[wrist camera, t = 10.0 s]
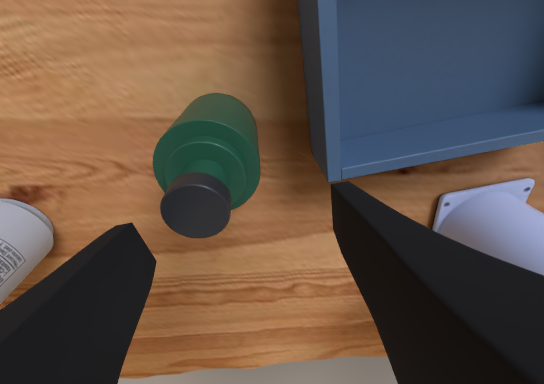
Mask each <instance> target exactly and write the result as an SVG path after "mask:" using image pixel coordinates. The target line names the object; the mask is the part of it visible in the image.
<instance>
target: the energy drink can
mask: <svg viewBox="0 0 544 384" xmlns="http://www.w3.org/2000/svg"><path fill="white" fill-rule="evenodd" d="M53 234H54V230H53V226H52V224H51V222H50V221H49V219H48V218H47V217H46V216H45V215H44V214H43V213H41V212H40V211H39V210H37V209H36V208H34V207H32V206H30V205H28V204H26V203H23V202H20V201H16V200H12V199H0V304H1V303H2V302H3V301H4V300H5V299H6V298H7V297H8V296H9V295H10V294H11V293H12V291H13V290H14V289H15V288H16V287H17V286H18V285H19V284H20V283H21V282H22V281H23V280H24V278H25V277H26V276H27V275H28V274H29V273H30V272H31V271H32V270H33V269H34V268H35V267H36V266H37V264H38V263H39V262H40V261H41V260H42V259H43V258H44V257H45V256H46V255H47V254H48V253H49V251H50V250H51V249H52V247H53Z"/></svg>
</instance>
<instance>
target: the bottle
mask: <svg viewBox="0 0 544 384" xmlns="http://www.w3.org/2000/svg"><path fill="white" fill-rule="evenodd" d="M153 168H154V173H155V176H156V179H157V181H158V183H159V185H160V187H161V188H162V189H163V191H164V192H165V195H164V196H163V198H162V201H161V205H160V210H161V215H162V218H163V220H164V221H165V223H166V224H167V225H168V226H169V227H170V228H171V229H172V230H173V231H175V232H177V233H178V234H180V235H183V236H186V237H190V238H207V237H211V236H214V235H216V234H218V233H219V232H221V231H222V230H223V229H224V228H225V227H226V225H227V224H228V222H229V219H230V213H231V210H233V209H235V208H237V207H239V206H241V205H242V204H244V203H245V202H246V201H247V200H248V199H249V198H250V197H251V196H252V195H253V193H254V192H255V190H256V188H257V186H258V183H259V180H260V158H259V146H258V135H257V126H256V122H255V119H254V117H253V115H252V113H251V112H250V110H249V109H248V108H247V107H246V106H245V105H244V104H243V103H242V102H241V101H239V100H238V99H236V98H234V97H232V96H229V95H226V94H220V93H212V94H206V95H203V96H201V97H199V98H197V99H195V100H194V101H193V102H192V103H191V104H190V105H189V106H188V107H187V108H186V109H185V111H184V112H183V113H182V114H181V115H180V116H179V118H178V119H177V120H176V121H175V122H174V123H173V124H172V126H171V127H170V128H169V129H168V130H167V131H166V133H165V134H164V135H163V136H162V137H161V139H160V140H159V142H158V143H157V145H156V148H155V151H154V155H153Z"/></svg>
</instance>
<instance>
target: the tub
mask: <svg viewBox="0 0 544 384" xmlns="http://www.w3.org/2000/svg"><path fill="white" fill-rule="evenodd" d="M297 2H298V12H299V23H300V33H301V44H302V54H303V65H304V75H305V86H306V96H307V107H308V117H309V128H310V139H311V149H312V153H313V155H314V157H315V159H316V161H317V163H318V165H319V166H320V168H321V170H322V172H323V174H324V176H325V178H326V179H327V181H328V183H329V182H335V181H340V180H341V179H342V180H344V179H349V178H354V177H359V176H364V175H370V174H375V173H380V172H385V171H390V170H396V169H401V168H406V167H411V166H417V165H422V164H427V163H432V162H437V161H443V160H448V159H453V158H458V157H463V156H469V155H474V154H479V153H484V152H489V151H495V150H500V149H505V148H510V147H515V146H521V145H526V144H531V143H536V142H541V141H544V0H297Z"/></svg>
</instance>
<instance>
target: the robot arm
mask: <svg viewBox="0 0 544 384" xmlns="http://www.w3.org/2000/svg"><path fill="white" fill-rule="evenodd" d="M534 183H535V181H534V180H532V179H530V178H525V179H520V180H515V181H509V182H504V183H499V184H493V185H488V186H483V187H477V188H472V189H467V190H461V191H456V192H451V193H446V194H443V195H442V196H441V197H440V199H439V203H438V207H437V211H436V215H435V219H434V224H433V228H432V230H431V229H429V228H427V227H425V226H423V225H421V224H419V223H417V222H416V221H414V220H412V219H410V218H408V217H406V216H404V215H403V214H401V213H399V212H397V211H395V210H394V209H392V208H390V207H389V206H387V205H385V204H384V203H382V202H380V201H379V200H377V199H375V198H374V197H372V196H371V195H369V194H368V193H366V192H364V191H363V190H361V189H360V188H358V187H357V186H355V185H353V184H352V183H350V182H348V181H347V182H342V183H336V184H331V200H332V217H333V230H334V233H335V236H336V239H337V242H338V244H339V247H340V250H341V253H342V255H343V257H344V259H345V261H346V263H347V265H348V267H349V270H350V272H351V274H352V276H353V278H354V280H355V282H356V284H357V286H358V288H359V290H360V292H361V294H362V296H363V298H364V300H365V302H366V304H367V306H368V308H369V310H370V313H371V315H372V317H373V319H374V322H375V324H376V326H377V329H378V332H379V334H380V337H381V340H382V342H383V345H384V347H385V350H386V353H387V355H388V358H389V361H390V363H391V366H392V369H393V372H394V374H395V377H396V380H397V382H398V384H544V214H543V213H541V212H540V211H538V210H536V209H535V208H533V207H531V206H530V205H528V204H526V203H525V202H526V200H527V198H528V196H529V194H530V192H531V190H532V188H533V185H534ZM156 262H157V261H156V260H155V258H154V256H153V255H152V253H151V252H150V250H149V249H148V247H147V245H146V244H145V242H144V241H143V239H142V238H141V236H140V234H139V233H138V231H137V230H136V228H135V226H134V225H133V223H127V224H122V225H117V226H115V227H113V228H111V229H110V230H108V231H107V232H105V233H104V234H102V235H101V236H100V237H98V238H97V239H95V240H94V241H93V242H91V243H90V244H89V245H87V246H86V247H85V248H84V249H82V250H81V251H80V252H78V253H77V254H76V255H74V256H73V257H72V258H70V259H69V260H68V261H67V262H65V263H64V264H63V265H61V266H60V267H59V268H57V269H56V270H55V271H54V272H52V273H51V274H50V275H48V276H47V277H45V278H44V279H43V280H41V281H40V282H39V283H37V284H36V285H35V286H33V287H32V288H30V289H29V290H28V291H26V292H25V293H24V294H22V295H21V296H20V297H18V298H17V299H15V300H14V301H13V302H11V303H10V304H8V305H7V306H6V307H4V308H3V309H1V310H0V384H117V383H118V379H119V376H120V372H121V369H122V366H123V363H124V360H125V357H126V354H127V351H128V348H129V346H130V343H131V340H132V338H133V335H134V332H135V330H136V327H137V324H138V322H139V319H140V316H141V314H142V311H143V308H144V305H145V303H146V300H147V297H148V294H149V292H150V289H151V285H152V281H153V277H154V272H155V267H156Z"/></svg>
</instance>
